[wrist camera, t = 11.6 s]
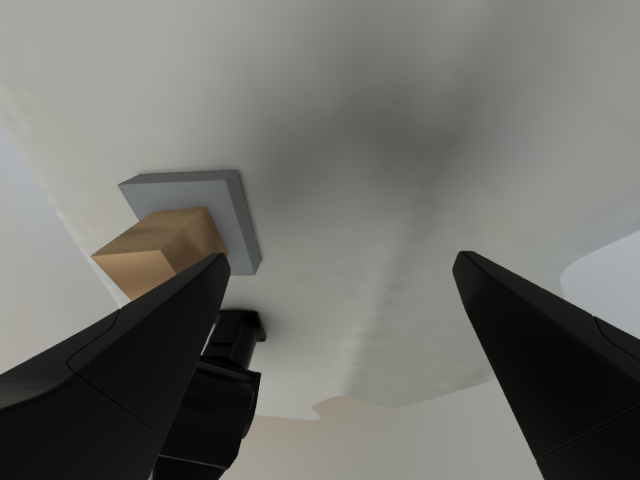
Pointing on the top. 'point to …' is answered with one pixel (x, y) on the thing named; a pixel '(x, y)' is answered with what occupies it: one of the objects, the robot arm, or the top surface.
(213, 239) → the teak block
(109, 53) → the top surface
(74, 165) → the top surface
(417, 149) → the top surface
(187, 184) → the slate slab
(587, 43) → the top surface
